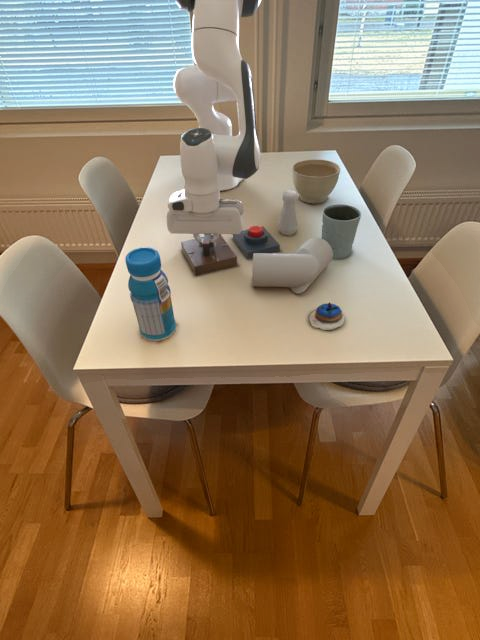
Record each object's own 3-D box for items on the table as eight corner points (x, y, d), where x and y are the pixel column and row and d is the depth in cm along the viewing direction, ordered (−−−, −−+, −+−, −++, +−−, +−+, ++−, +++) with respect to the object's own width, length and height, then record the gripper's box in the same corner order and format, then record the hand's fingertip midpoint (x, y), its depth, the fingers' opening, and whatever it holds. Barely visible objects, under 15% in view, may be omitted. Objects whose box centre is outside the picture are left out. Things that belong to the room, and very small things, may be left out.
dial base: (181, 250, 117) (180, 241, 115) (220, 242, 120) (219, 232, 118) (195, 276, 107) (194, 266, 105) (237, 266, 111) (236, 256, 108)
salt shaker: (295, 237, 121) (299, 197, 112) (277, 236, 122) (278, 195, 113) (297, 228, 125) (301, 188, 117) (279, 227, 126) (281, 187, 118)
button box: (232, 239, 121) (232, 227, 119) (262, 232, 124) (263, 220, 121) (247, 259, 113) (247, 246, 110) (279, 251, 116) (280, 239, 113)
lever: (205, 242, 115) (204, 230, 112) (212, 242, 114) (211, 230, 112) (203, 255, 109) (202, 243, 107) (210, 255, 109) (209, 243, 107)
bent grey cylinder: (304, 308, 94) (339, 267, 106) (298, 269, 88) (336, 230, 100) (243, 297, 104) (281, 261, 116) (234, 261, 98) (276, 227, 111)
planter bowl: (336, 189, 146) (340, 159, 139) (336, 209, 134) (340, 177, 127) (292, 187, 148) (293, 157, 141) (288, 207, 136) (290, 175, 129)
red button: (246, 232, 117) (246, 227, 116) (259, 229, 118) (259, 224, 117) (252, 239, 114) (252, 233, 113) (264, 236, 115) (264, 230, 114)
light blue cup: (314, 256, 113) (319, 217, 105) (321, 239, 120) (326, 201, 112) (351, 262, 110) (358, 223, 102) (356, 244, 117) (363, 206, 109)
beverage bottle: (144, 347, 88) (124, 271, 74) (136, 323, 94) (116, 250, 80) (181, 335, 90) (168, 260, 77) (171, 313, 96) (157, 240, 83)
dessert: (341, 305, 95) (345, 298, 90) (343, 332, 94) (347, 327, 88) (307, 307, 96) (309, 301, 90) (309, 334, 95) (311, 329, 89)
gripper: (244, 193, 104) (245, 240, 113) (166, 193, 105) (174, 239, 114) (242, 204, 99) (243, 252, 108) (161, 204, 101) (169, 251, 110)
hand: (207, 246), depth 111 cm, fingers closed, pressing on lever
